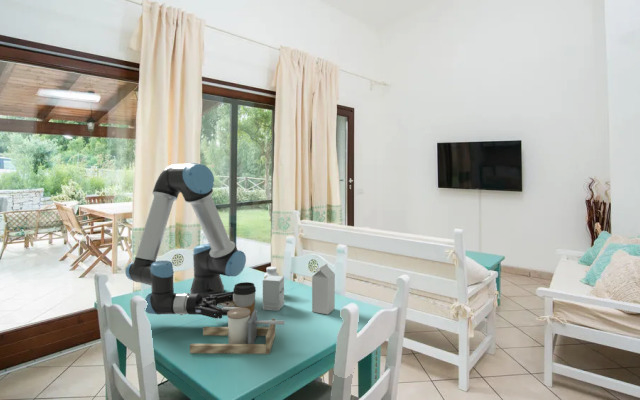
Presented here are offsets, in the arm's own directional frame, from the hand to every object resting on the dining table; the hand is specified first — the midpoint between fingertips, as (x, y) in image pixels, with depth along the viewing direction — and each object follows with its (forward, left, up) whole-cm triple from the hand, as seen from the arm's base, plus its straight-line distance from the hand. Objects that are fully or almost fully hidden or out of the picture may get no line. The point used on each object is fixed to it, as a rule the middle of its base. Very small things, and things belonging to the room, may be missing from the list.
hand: (245, 304), depth 130 cm
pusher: (+14, -10, -8) cm, 19 cm away
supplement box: (+1, +19, -8) cm, 21 cm away
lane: (+4, -13, -8) cm, 16 cm away
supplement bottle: (-7, +32, -8) cm, 34 cm away
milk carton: (+22, +23, -8) cm, 33 cm away
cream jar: (+5, -13, -8) cm, 16 cm away
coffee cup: (-1, 0, -8) cm, 8 cm away
